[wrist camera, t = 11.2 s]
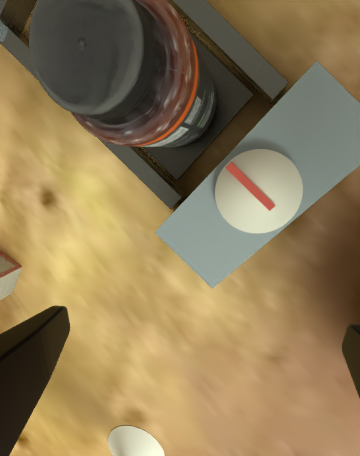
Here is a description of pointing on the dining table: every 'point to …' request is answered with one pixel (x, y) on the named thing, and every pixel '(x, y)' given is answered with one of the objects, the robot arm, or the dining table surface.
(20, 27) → the grey rectangular frame
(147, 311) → the dining table surface
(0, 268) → the tea bag
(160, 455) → the champagne flute
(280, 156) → the gray rotary dial box
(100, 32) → the supplement bottle
